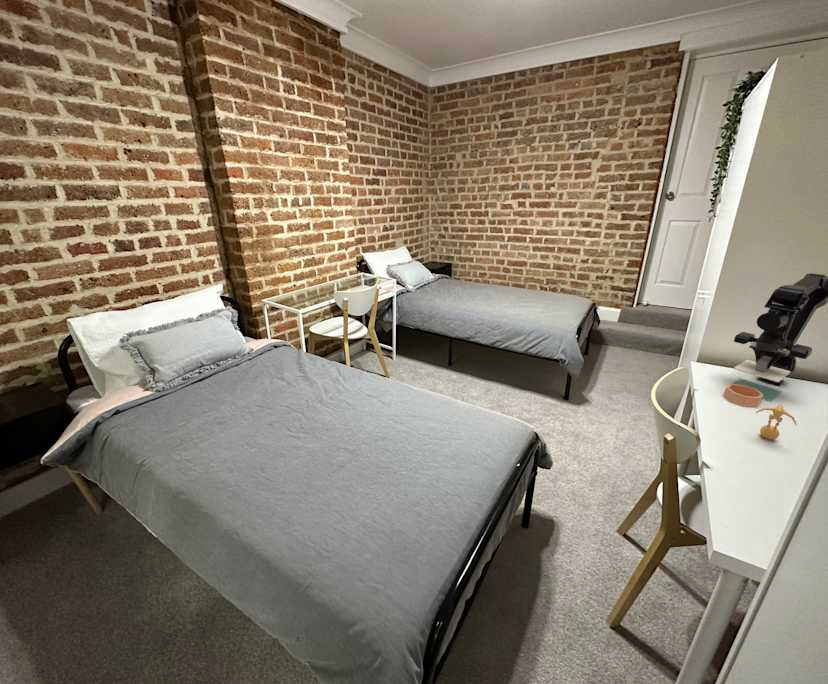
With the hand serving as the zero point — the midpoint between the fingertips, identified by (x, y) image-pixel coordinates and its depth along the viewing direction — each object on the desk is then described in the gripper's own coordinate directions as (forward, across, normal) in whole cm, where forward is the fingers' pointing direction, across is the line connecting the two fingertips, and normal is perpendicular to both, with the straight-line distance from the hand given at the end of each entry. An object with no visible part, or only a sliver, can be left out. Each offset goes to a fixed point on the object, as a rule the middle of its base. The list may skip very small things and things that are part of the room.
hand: (762, 367), depth 128 cm
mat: (+9, 0, 0) cm, 9 cm away
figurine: (+10, +12, -32) cm, 35 cm away
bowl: (+9, 0, -12) cm, 16 cm away
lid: (+1, 0, 0) cm, 1 cm away
